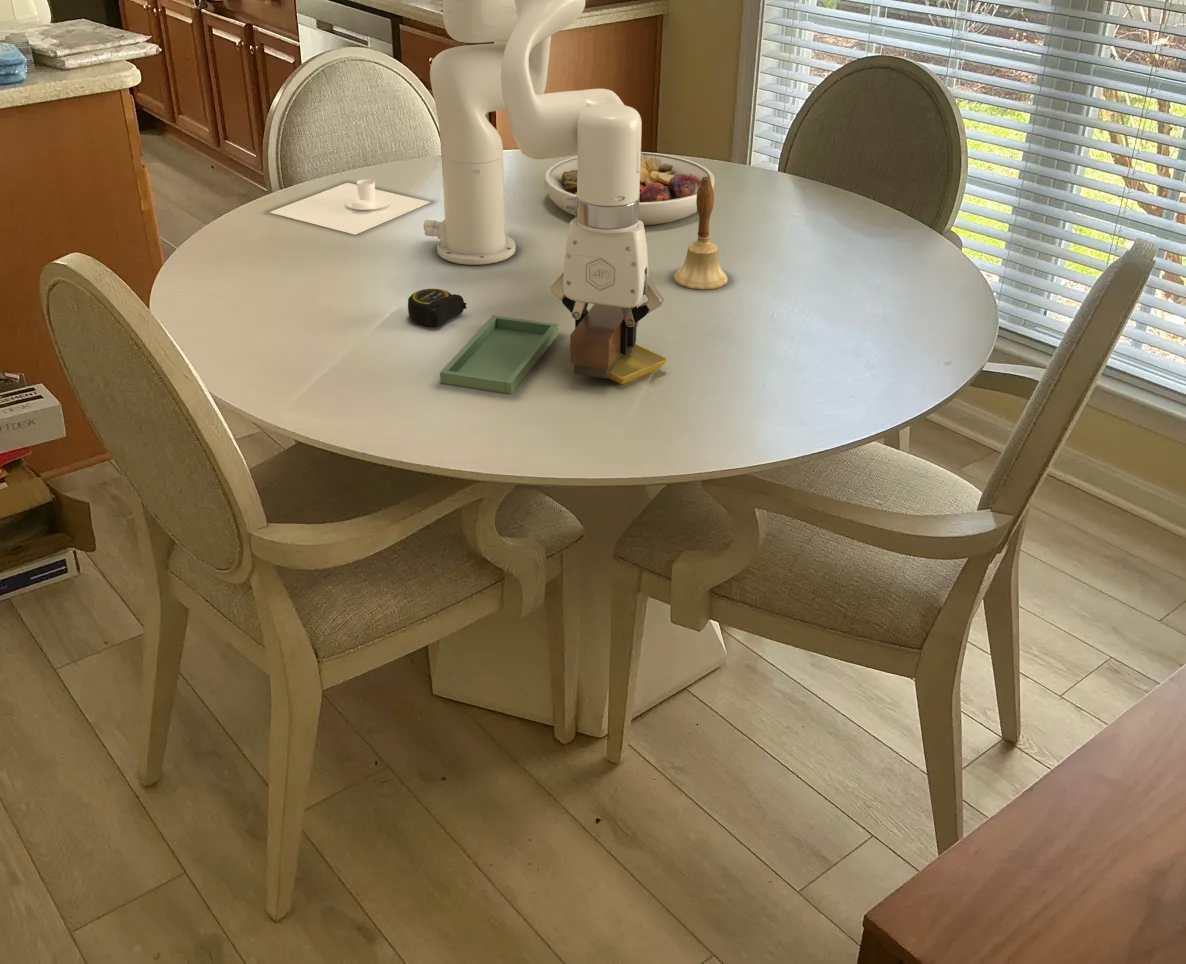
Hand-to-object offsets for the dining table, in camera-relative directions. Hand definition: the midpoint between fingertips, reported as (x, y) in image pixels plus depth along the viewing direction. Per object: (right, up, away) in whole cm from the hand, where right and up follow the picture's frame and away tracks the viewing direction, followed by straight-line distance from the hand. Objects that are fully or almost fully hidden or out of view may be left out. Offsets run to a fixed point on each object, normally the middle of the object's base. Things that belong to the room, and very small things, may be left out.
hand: (605, 346), depth 150 cm
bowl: (+5, +32, +58) cm, 67 cm away
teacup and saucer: (-44, +31, +55) cm, 77 cm away
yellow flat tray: (+2, -3, +1) cm, 4 cm away
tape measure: (-23, +5, +14) cm, 28 cm away
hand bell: (+15, +13, +28) cm, 35 cm away
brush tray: (-14, -2, +3) cm, 14 cm away
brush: (0, -1, +1) cm, 1 cm away
